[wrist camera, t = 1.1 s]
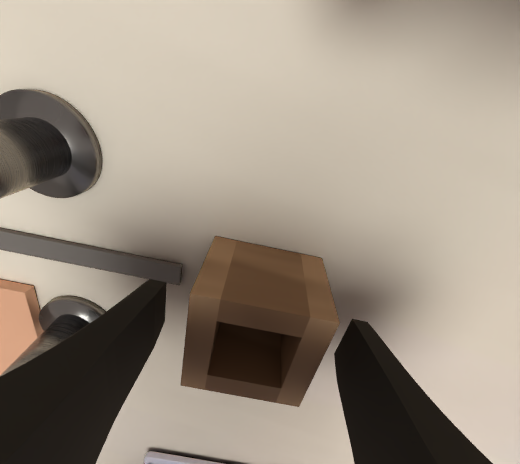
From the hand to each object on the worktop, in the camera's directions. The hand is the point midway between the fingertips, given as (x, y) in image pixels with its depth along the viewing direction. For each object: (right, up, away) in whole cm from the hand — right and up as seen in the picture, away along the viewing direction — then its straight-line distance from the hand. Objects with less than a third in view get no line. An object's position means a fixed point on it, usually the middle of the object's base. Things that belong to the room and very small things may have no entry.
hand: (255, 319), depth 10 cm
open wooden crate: (0, +1, +2) cm, 2 cm away
